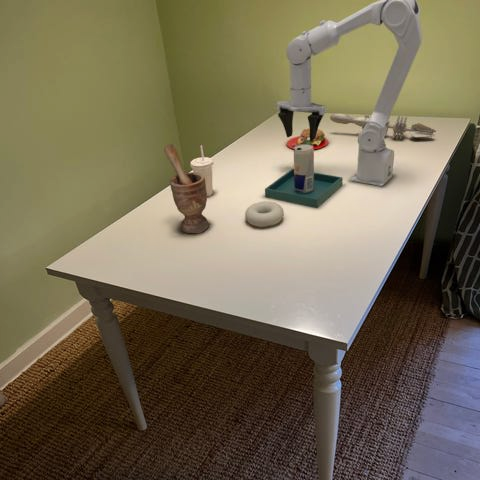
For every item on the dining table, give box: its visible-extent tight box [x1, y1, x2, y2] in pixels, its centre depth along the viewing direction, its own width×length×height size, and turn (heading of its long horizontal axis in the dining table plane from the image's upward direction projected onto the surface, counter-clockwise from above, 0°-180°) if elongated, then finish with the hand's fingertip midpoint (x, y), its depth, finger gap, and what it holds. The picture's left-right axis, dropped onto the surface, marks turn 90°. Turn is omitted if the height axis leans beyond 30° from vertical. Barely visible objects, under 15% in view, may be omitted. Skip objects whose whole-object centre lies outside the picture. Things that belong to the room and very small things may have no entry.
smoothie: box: [190, 145, 214, 197], centre depth 135 cm, size 6×6×14 cm
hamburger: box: [286, 127, 329, 150], centre depth 161 cm, size 14×14×6 cm
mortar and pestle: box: [163, 143, 210, 234], centre depth 119 cm, size 12×9×20 cm
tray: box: [264, 168, 344, 209], centre depth 134 cm, size 16×15×2 cm
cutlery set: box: [329, 113, 437, 140], centre depth 159 cm, size 8×35×8 cm
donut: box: [244, 200, 285, 228], centre depth 123 cm, size 10×4×10 cm
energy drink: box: [293, 144, 315, 194], centre depth 131 cm, size 5×5×12 cm
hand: (301, 137), depth 139 cm, fingers open, 7 cm apart
